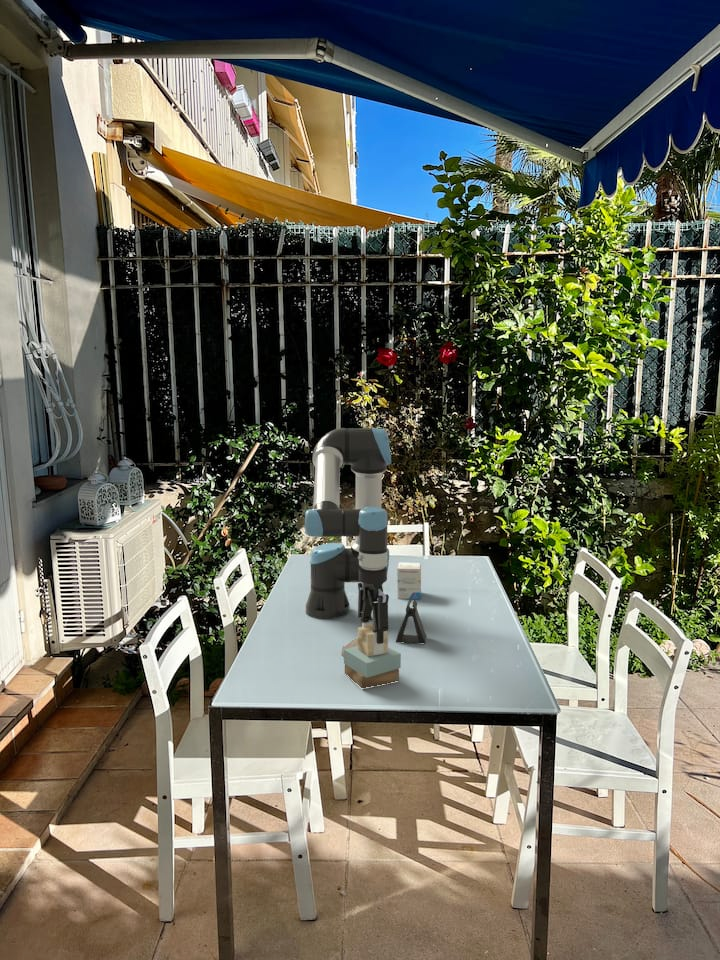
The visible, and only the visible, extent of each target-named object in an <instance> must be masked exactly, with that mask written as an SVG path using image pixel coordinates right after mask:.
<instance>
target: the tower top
mask: <svg viewBox="0 0 720 960" xmlns="http://www.w3.org/2000/svg"><path fill="white" fill-rule="evenodd" d="M401 655H402V654H401V653H400V652H398V651H396V650H395V649H392V648H391V647H389V646H388V653H384V654H379V655H374V656H369V657H367V656H366V655H365V654H364V653H362V652H361V651H360V650H359V649H358V646H356V647H352V648H348V649H344V658H343V664H344V665H345V664H346V665H347V666H349V667H350V668H352V669H354V670H355V671H357V672H358V673H360V674H362V675H363V676H365V677H366V678H368V677H371V676H375V675H378V674H382V673H385V672H388V671H392V670H395V669H399V670H400V669H401V666H402V665H401V663H402V661H401V658H402V657H401Z"/></svg>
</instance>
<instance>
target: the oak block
mask: <svg viewBox="0 0 720 960" xmlns="http://www.w3.org/2000/svg"><path fill="white" fill-rule="evenodd" d="M373 630H375V626H374V624H372V625H371V626H365V627H362V626H360V627H357V639H358V649H359V650H360V651H361V652H362V653H364V654H365V655H366V656H367V657H369V656H374V655H373ZM388 631H389V630H388ZM388 631H384V653H388V647H389V646H388V645H389V644H388V642H389V641H388V639H389V638H388V634H389V632H388Z"/></svg>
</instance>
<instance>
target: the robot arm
mask: <svg viewBox="0 0 720 960" xmlns="http://www.w3.org/2000/svg"><path fill="white" fill-rule="evenodd" d="M311 460H312V464H313V466H314V485H313V487H314V489H313V502H312V503H313V505H312V508H311V509H306V510H305V513H304V514H305V515H304V530H305V534H306V535H307V536H308V537H317V538H318V537H319V538H322V537H323V538H324V537H327V538H329V537H330V538H331V537H333V538H335V537H355V538H354V540H353V541H352V542H351V544H350V548H348V547H345V545H344V543H341V542H329V543H323V544H320V545H318V546H315V547H313V548H312V550H311V552H310V561H309V563H310V592H309V595H308V597H307V601H306V604H305V613H306V614H307V615H308V616H309V617H313V618H318V619H338V618H341V617H345V616H347V615H348V614H349V613H351V612H350V610H351V606H350V602H349V599H348V596H347V593H346V588H345V583H357V588H358V599H357V600H358V601H357V604H358V605H357V618H360V621H361V622H362V624H361V627H365V626H371V625H374V626H375V630H373V655H379V654H384V631H389V598H390V596H389V594H385V593H384V588H383V584H384V583H386V582H387V580H388V571H389V565H390V563H389V562H390V561H389V560H390V549H389V548H388V525H389V521H388V512H387V510H386V509H384V508H382V495H383V494H382V491H383V490H382V488H383V487H382V484H383V481H382V480H383V479H382V478H383V476H382V475H383V474H384V473H386V471H387V467H388V466H390V465H391V464H392V454H391V449H390V440H389V434H388V431H387V430H386V429H385V428H375V427H362V428H361V427H359V428H358V427H357V428H353V427H351V428H350V427H349V428H348V427H347V428H345V427H341V428H334V429H333V430H331V431H329V432H326V433H325V435H323V436H322V437H321V438H320V439H319V440H318V442H317V443H316V445H315V446H314V448H313V452H312V459H311ZM342 465H350V470H351V472H353V473H354V474H355V508H349V509H346V508H345V509H344V508H340V503H341V501H340V499H341V498H340V496H341V495H340V494H341V493H340V491H341V490H340V489H341V487H340V486H341V485H340V478H341V477H340V476H341V475H340V474H341V472H340V471H341V468H342ZM372 621H373V622H372Z"/></svg>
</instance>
